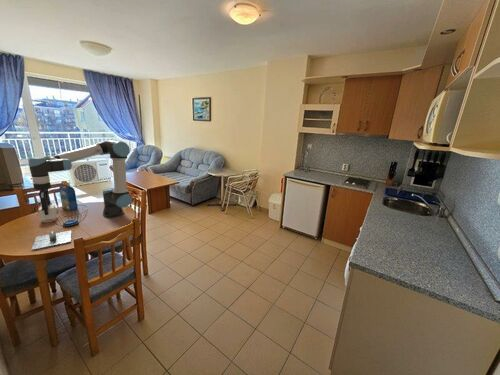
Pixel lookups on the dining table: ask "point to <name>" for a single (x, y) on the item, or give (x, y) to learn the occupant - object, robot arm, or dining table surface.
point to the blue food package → (68, 196)
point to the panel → (52, 240)
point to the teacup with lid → (50, 219)
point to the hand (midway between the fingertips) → (48, 216)
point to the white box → (52, 212)
